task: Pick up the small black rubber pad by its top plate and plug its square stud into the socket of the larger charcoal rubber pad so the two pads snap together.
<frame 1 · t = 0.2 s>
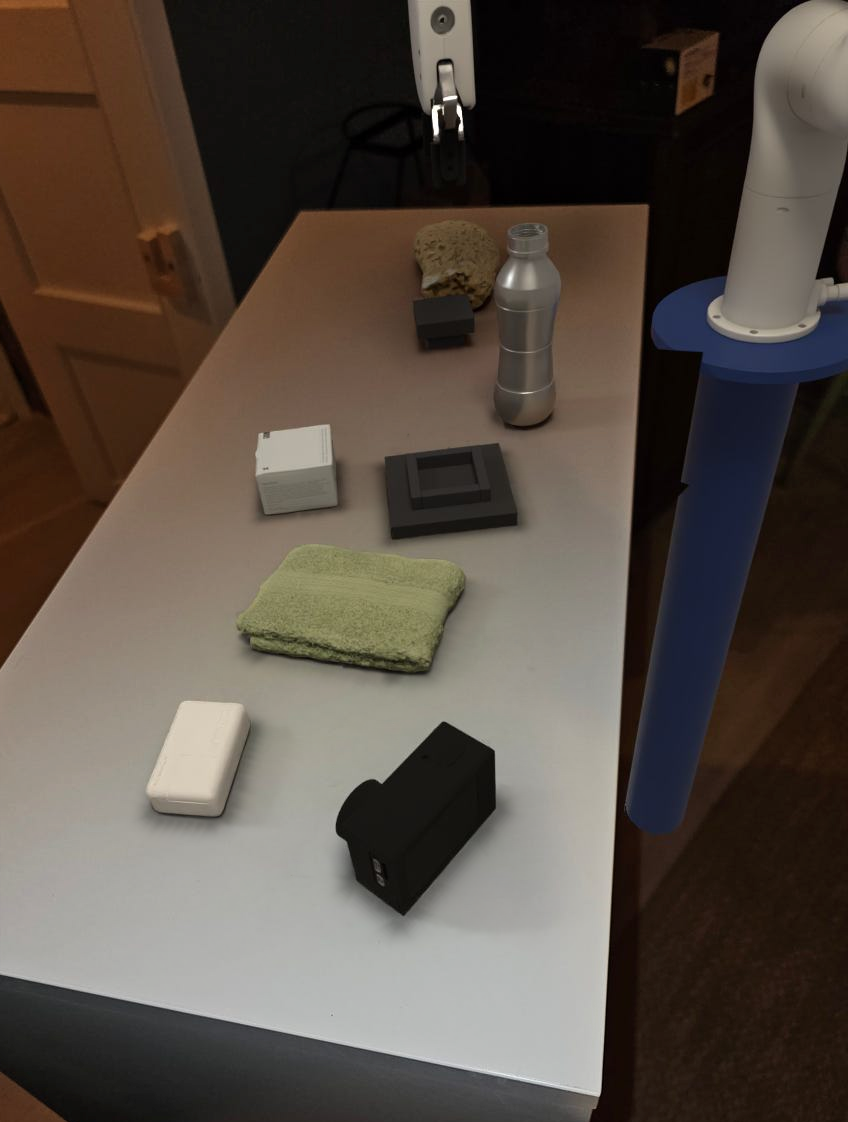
hand: (444, 169, 87), 23 cm above the table, tool pointing down, fingers open, 9 cm apart
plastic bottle: (524, 419, 95), on the table
top pad: (444, 339, 110), on the table
digital camera: (421, 840, 60), on the table
base pad: (448, 495, 87), on the table
soap: (206, 769, 66), on the table
small box: (302, 491, 90), on the table
washcloth: (354, 617, 76), on the table
sponge: (454, 284, 121), on the table
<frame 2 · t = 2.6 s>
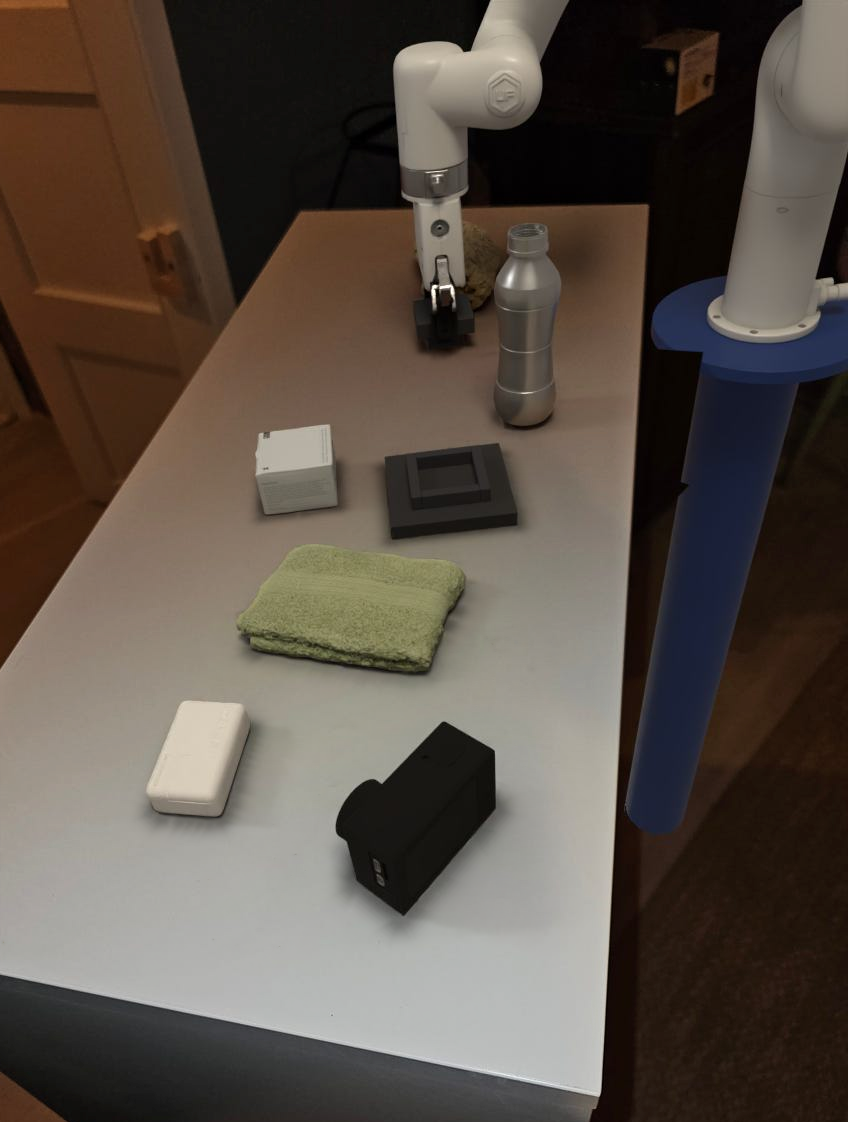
hand: (441, 323, 108), 2 cm above the table, tool pointing down, fingers open, 9 cm apart
sponge: (454, 284, 121), on the table, touching gripper
everything else where it was.
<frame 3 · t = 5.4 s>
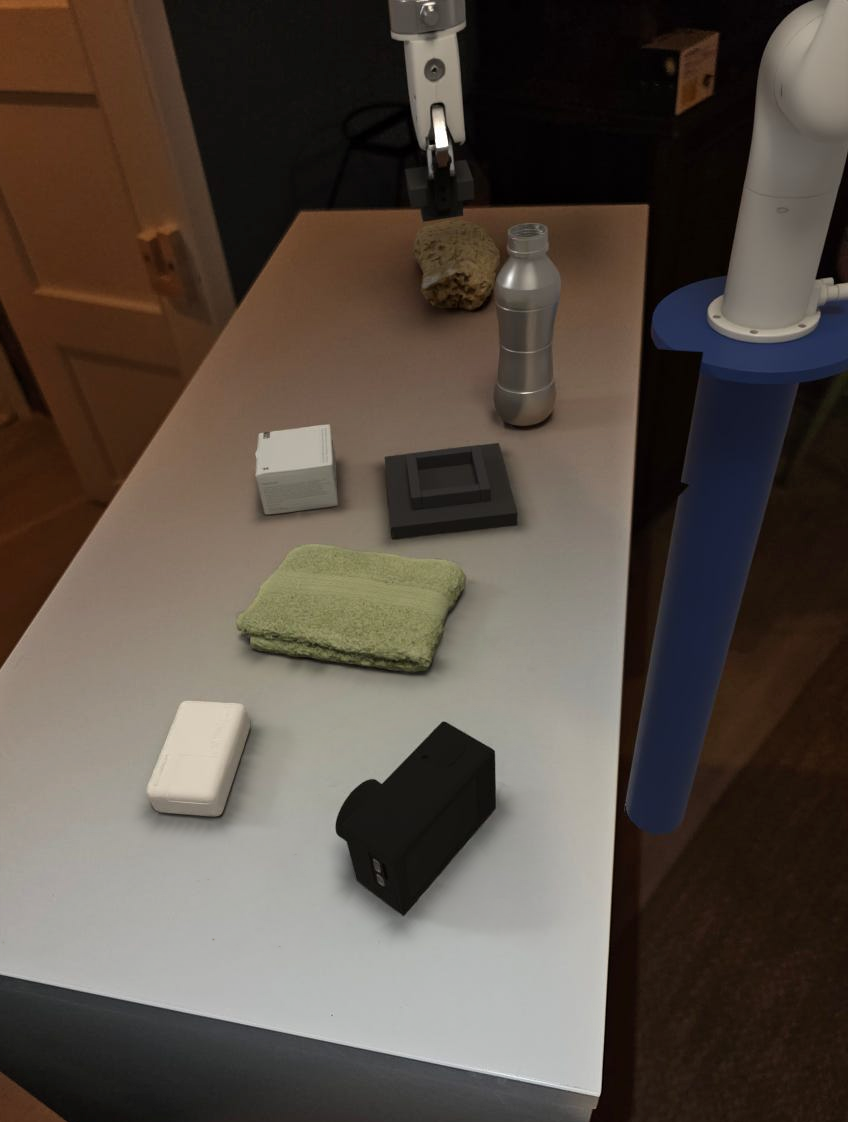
hand: (440, 201, 98), 17 cm above the table, tool pointing down, fingers closed on top pad, 7 cm apart
top pad: (441, 211, 99), point 15 cm above the table, touching gripper
sponge: (454, 284, 121), on the table
everything else where it was.
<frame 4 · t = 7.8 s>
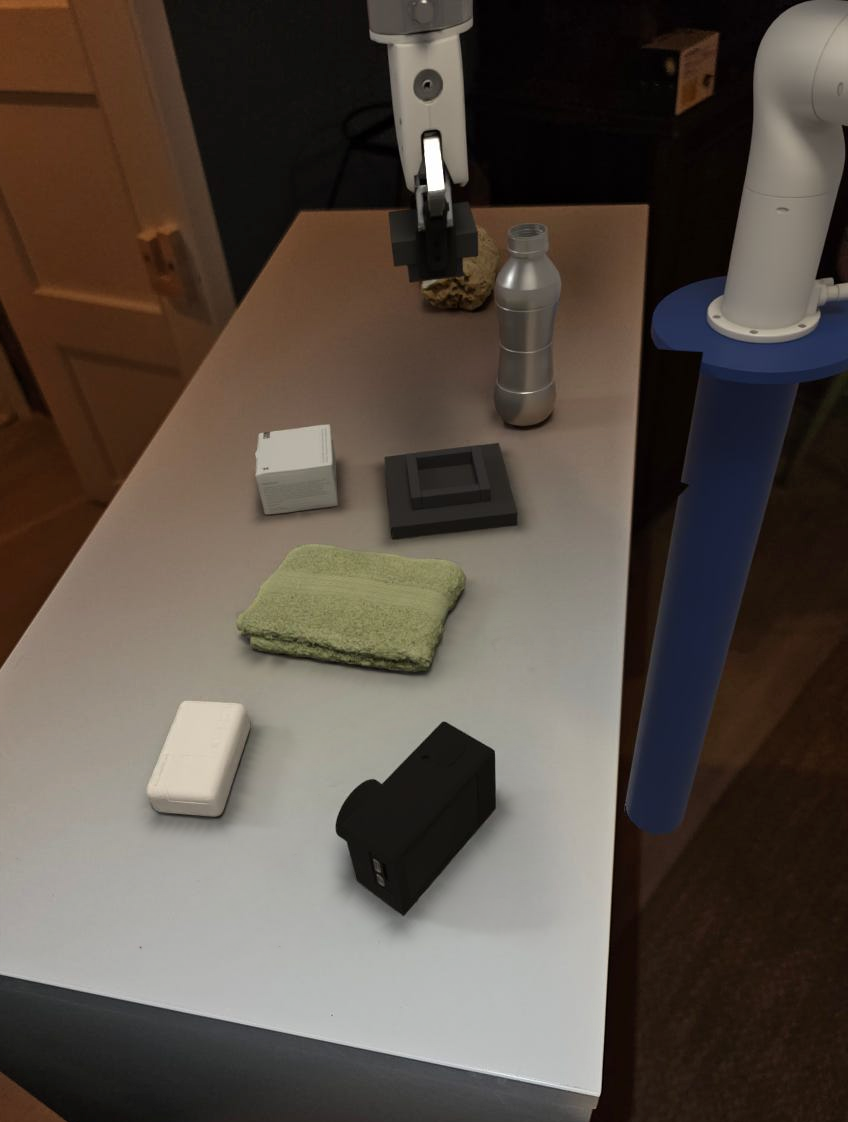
hand: (434, 255, 74), 22 cm above the table, tool pointing down, fingers closed on top pad, 7 cm apart
top pad: (434, 268, 75), point 21 cm above the table, touching gripper
everything else where it was.
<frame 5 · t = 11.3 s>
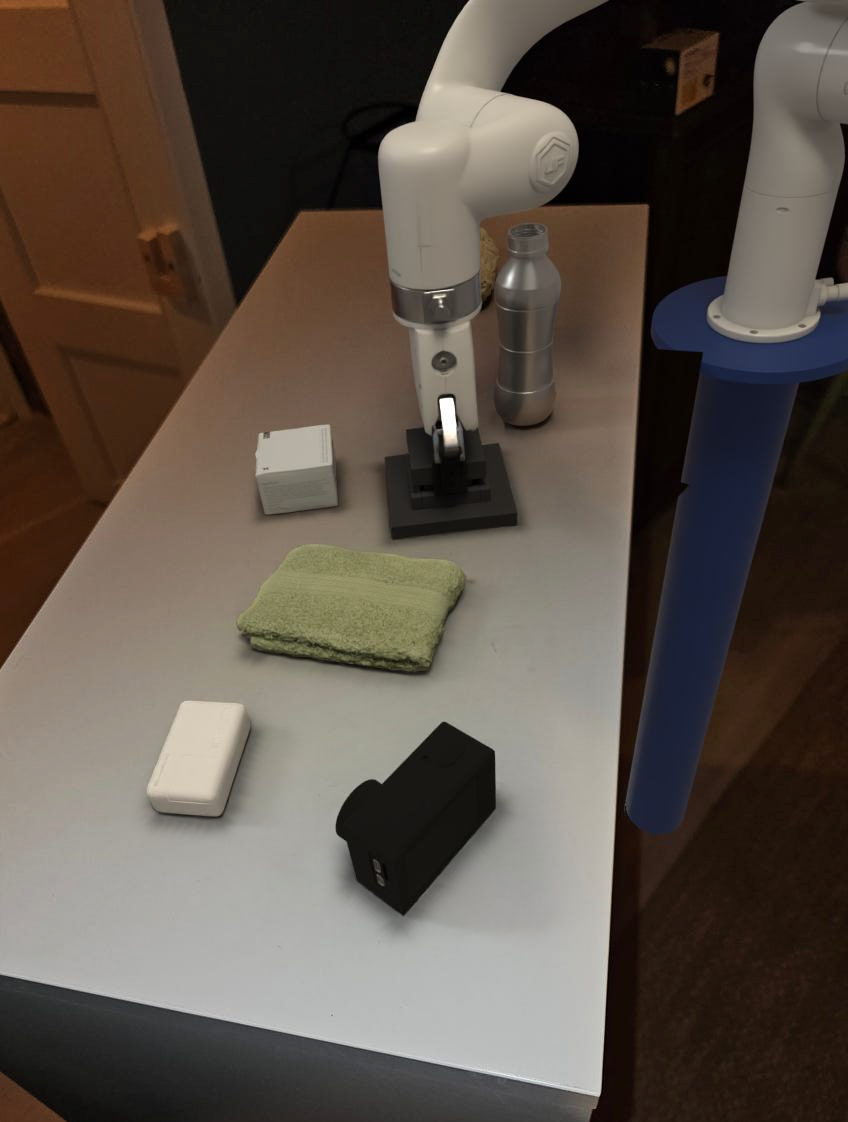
hand: (446, 469, 84), 3 cm above the table, tool pointing down, fingers closed on top pad, 7 cm apart
top pad: (446, 478, 85), point 2 cm above the table, touching gripper
everything else where it was.
when the fingers open (3 cm above the table, at t = 12.8 s): top pad stays where it is, resting on base pad.
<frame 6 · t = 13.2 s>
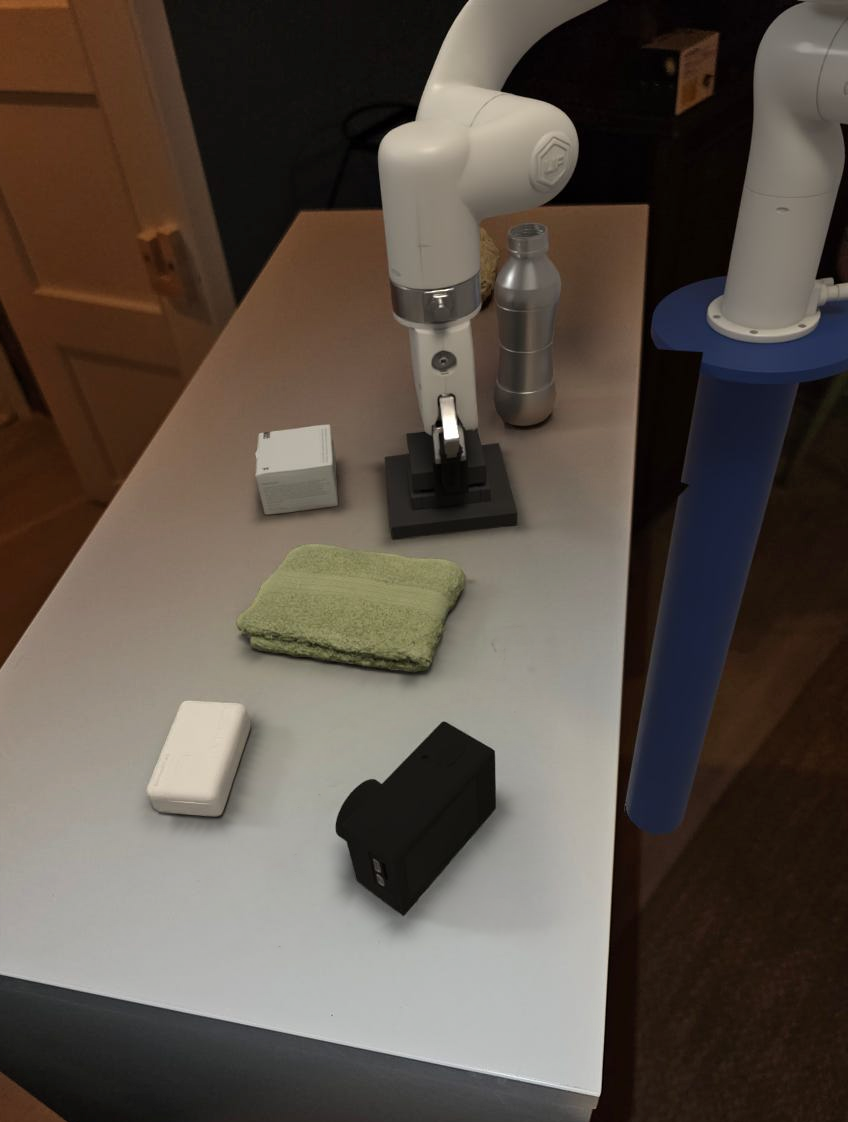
hand: (446, 464, 84), 4 cm above the table, tool pointing down, fingers open, 9 cm apart
top pad: (447, 482, 86), point 2 cm above the table, touching base pad
base pad: (448, 495, 87), on the table, touching top pad
everything else where it was.
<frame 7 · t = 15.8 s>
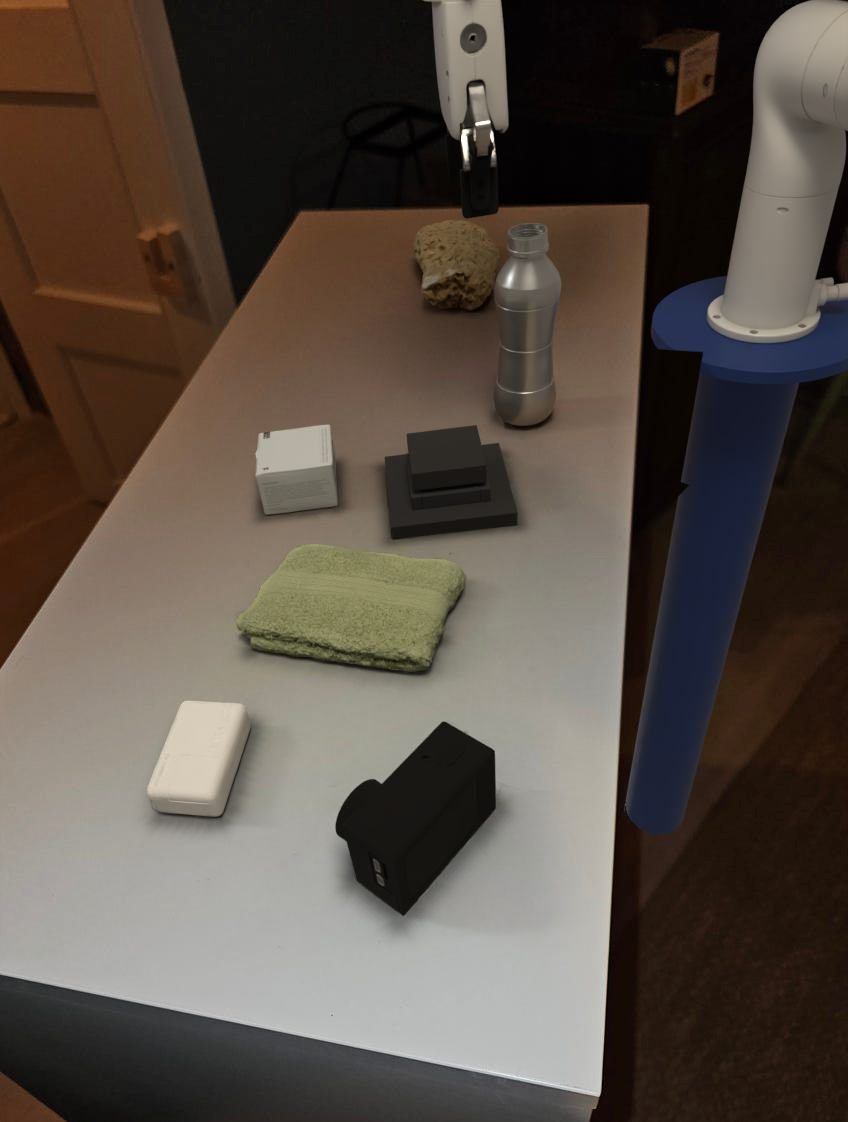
hand: (472, 195, 80), 23 cm above the table, tool pointing down, fingers open, 9 cm apart
nothing on the table moved.
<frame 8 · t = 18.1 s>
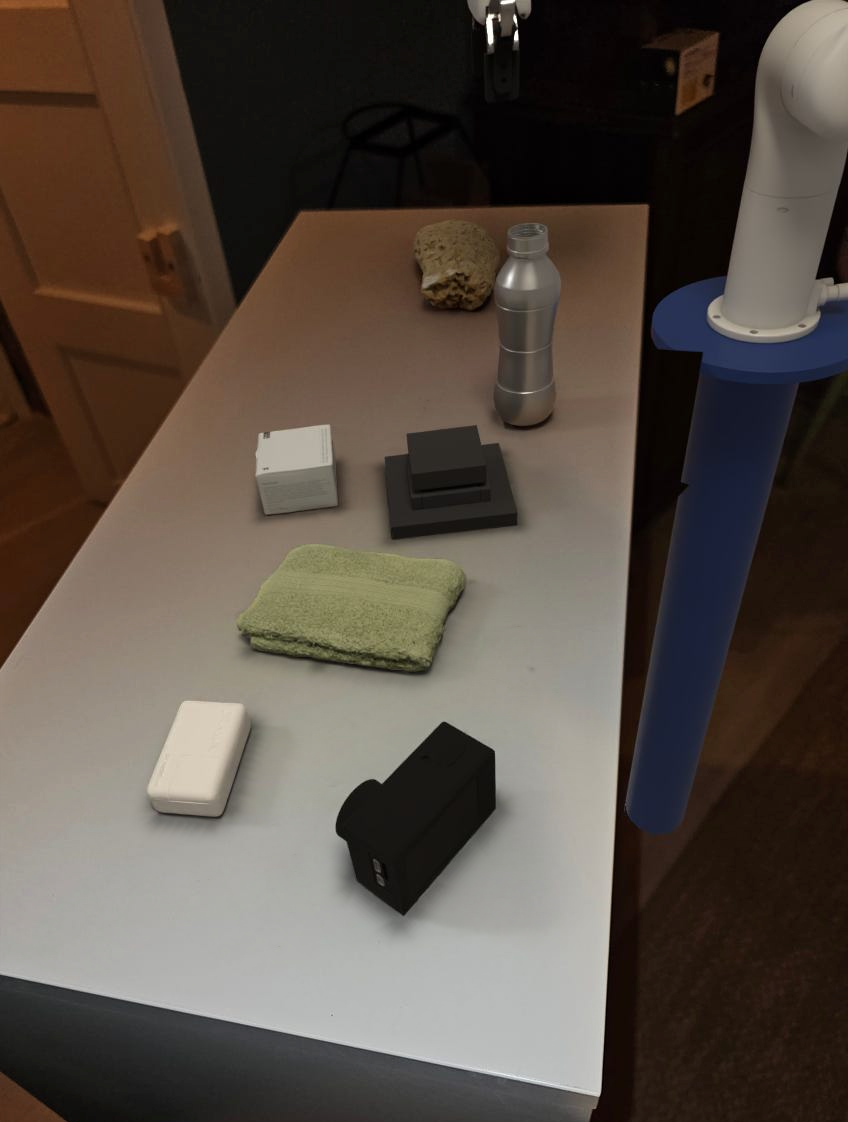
hand: (494, 87, 86), 28 cm above the table, tool pointing down, fingers open, 9 cm apart
nothing on the table moved.
at the end: top pad 0.0 cm off-centre on the base pad, point 1.5 cm above the base pad's base; top pad tilted 0°; the gripper is holding nothing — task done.
